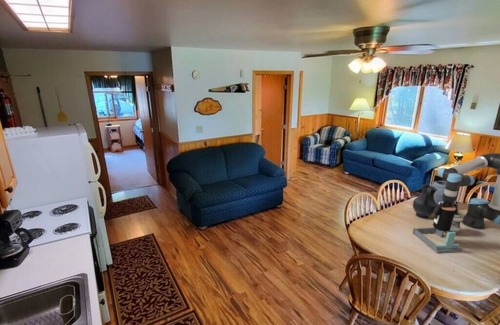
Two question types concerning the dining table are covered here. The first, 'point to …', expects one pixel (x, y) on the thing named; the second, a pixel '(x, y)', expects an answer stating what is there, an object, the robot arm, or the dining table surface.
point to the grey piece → (419, 233)
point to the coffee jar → (445, 219)
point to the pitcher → (425, 202)
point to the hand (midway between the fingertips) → (442, 222)
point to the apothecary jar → (456, 223)
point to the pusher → (449, 242)
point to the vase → (439, 190)
